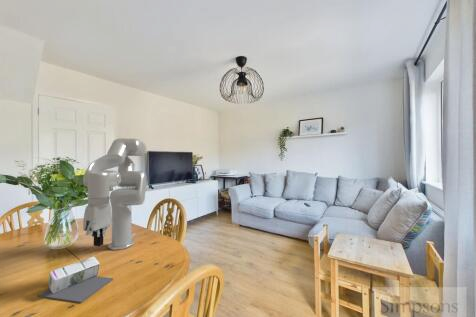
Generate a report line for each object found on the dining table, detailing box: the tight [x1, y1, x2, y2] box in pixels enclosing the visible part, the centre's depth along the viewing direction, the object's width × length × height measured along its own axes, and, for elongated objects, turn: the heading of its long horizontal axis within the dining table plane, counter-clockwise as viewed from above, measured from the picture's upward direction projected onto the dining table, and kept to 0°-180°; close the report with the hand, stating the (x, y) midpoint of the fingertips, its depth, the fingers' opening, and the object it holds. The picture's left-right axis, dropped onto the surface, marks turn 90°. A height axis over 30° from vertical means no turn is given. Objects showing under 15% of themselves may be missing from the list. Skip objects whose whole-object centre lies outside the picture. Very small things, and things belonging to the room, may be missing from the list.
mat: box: [37, 275, 114, 304], centre depth 78 cm, size 14×18×1 cm
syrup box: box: [48, 256, 100, 293], centre depth 81 cm, size 6×6×14 cm
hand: (98, 245), depth 87 cm, fingers closed
